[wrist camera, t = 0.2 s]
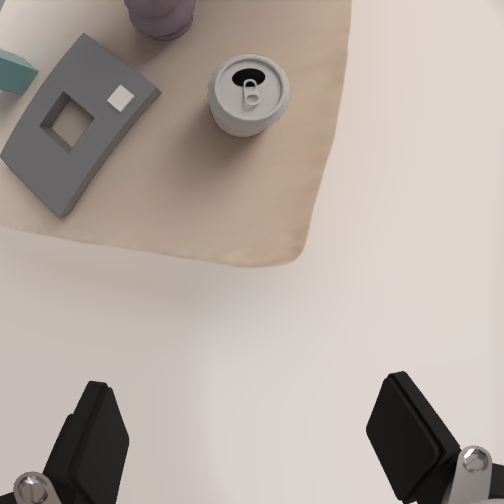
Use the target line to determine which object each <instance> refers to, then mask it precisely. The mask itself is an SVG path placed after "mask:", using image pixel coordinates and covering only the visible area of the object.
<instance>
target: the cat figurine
mask: <svg viewBox="0 0 504 504" xmlns="http://www.w3.org/2000/svg"><path fill="white" fill-rule="evenodd" d="M124 3H125V5H126V6H127V8H128V9H129V16H130V20H131V22H132V24H133V25H134V27H135V28H136V29H138V30H139V31H141V32H142V33H144V34H148V35H149V36H150V37H152V38H154V39H156V40H160V41H168V40H172V39H176V38H178V37H180V36H181V35H183V34H184V33H185V32H186V31H187V30H188V29H189V28H190V26H191V24H192V20H193V15H192V13H193V12H194V8H195V0H124Z"/></svg>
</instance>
